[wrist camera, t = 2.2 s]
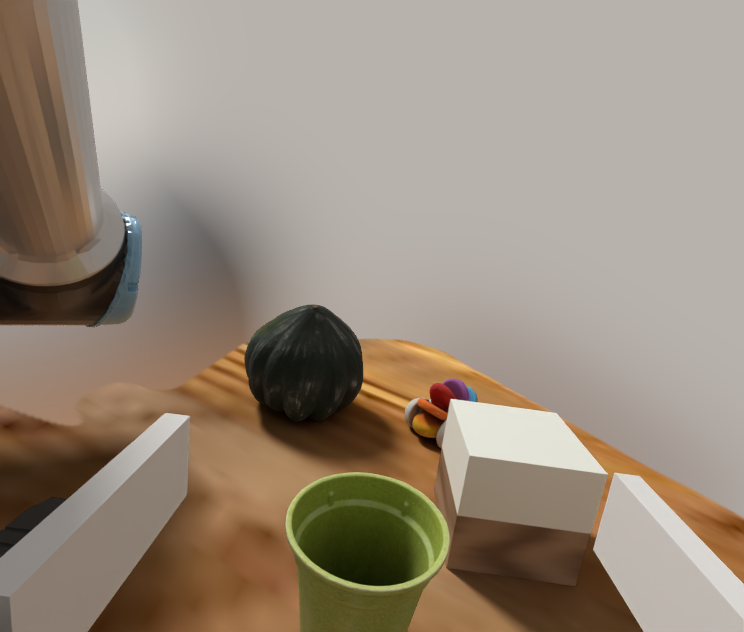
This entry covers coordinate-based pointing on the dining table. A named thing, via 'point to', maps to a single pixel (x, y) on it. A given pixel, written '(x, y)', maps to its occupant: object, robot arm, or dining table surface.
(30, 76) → the robot arm
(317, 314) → the squash
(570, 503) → the pale top block
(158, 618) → the dining table surface
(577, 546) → the walnut base block
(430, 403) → the rainbow petal cluster
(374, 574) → the plant pot
